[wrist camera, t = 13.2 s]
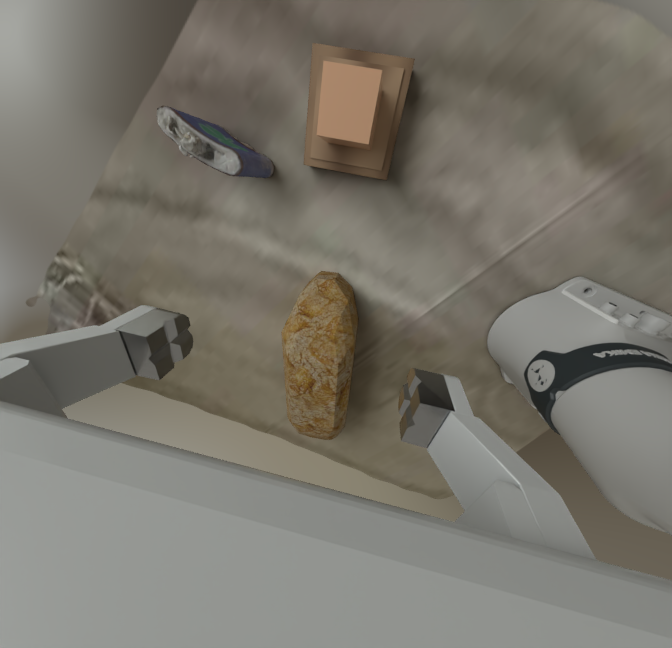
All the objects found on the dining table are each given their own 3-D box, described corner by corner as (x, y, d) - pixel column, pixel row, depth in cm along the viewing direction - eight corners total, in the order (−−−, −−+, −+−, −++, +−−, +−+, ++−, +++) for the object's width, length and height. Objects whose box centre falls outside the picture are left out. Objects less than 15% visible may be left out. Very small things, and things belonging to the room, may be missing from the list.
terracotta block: (382, 89, 24) (382, 70, 20) (370, 150, 27) (368, 144, 23) (333, 81, 25) (323, 60, 20) (327, 142, 27) (316, 135, 23)
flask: (277, 162, 31) (234, 155, 22) (269, 185, 33) (225, 187, 24) (212, 118, 30) (138, 92, 21) (207, 144, 32) (135, 129, 23)
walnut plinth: (412, 69, 25) (415, 58, 23) (386, 180, 30) (386, 180, 28) (318, 54, 26) (312, 41, 23) (309, 165, 31) (303, 164, 29)
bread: (295, 267, 38) (269, 292, 30) (363, 275, 37) (358, 303, 29) (299, 416, 57) (285, 458, 48) (345, 425, 56) (339, 469, 47)
